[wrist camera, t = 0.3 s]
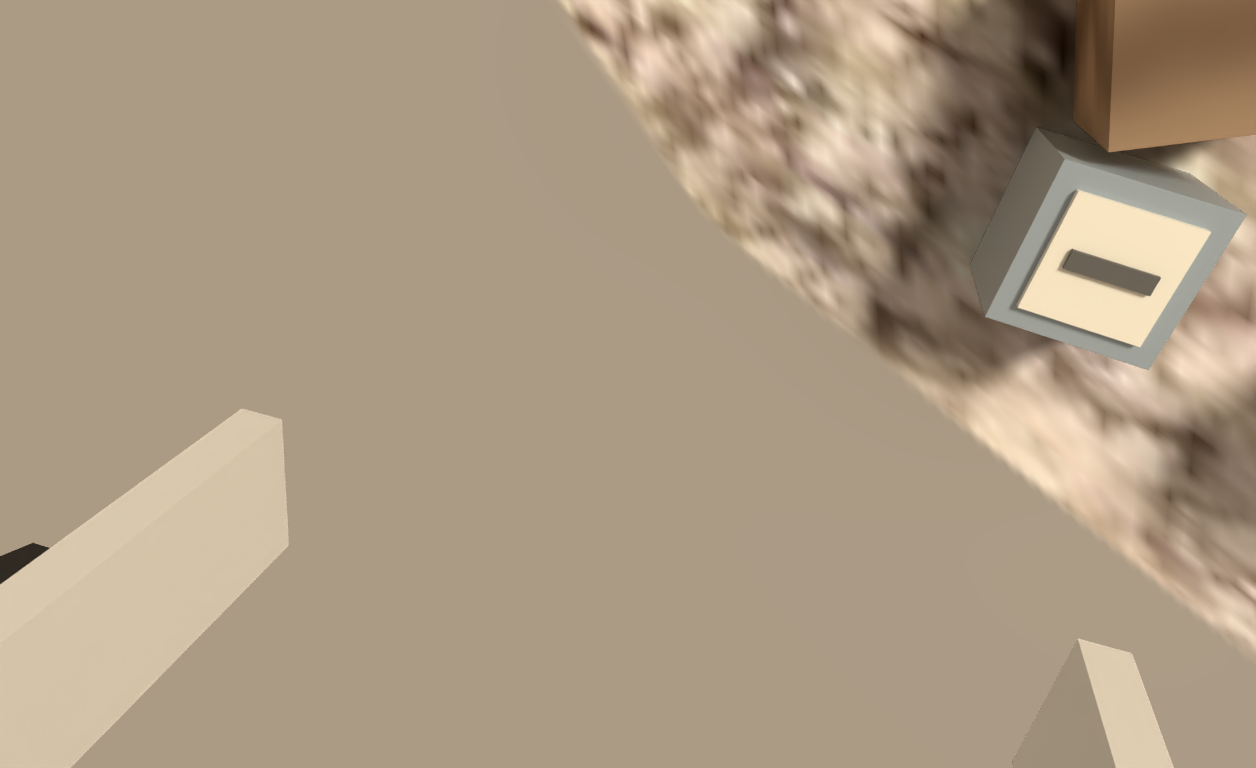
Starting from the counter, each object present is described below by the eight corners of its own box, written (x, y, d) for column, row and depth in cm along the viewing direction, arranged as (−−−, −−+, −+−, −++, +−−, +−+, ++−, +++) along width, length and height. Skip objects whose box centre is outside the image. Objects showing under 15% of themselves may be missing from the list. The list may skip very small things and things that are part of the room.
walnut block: (1077, -81, 31) (1118, -86, 26) (1311, -126, 29) (1407, -142, 24) (1072, 120, 34) (1108, 152, 29) (1285, 92, 32) (1365, 121, 26)
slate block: (1035, 126, 34) (1067, 162, 28) (1189, 173, 34) (1252, 218, 28) (969, 264, 37) (986, 321, 31) (1109, 309, 36) (1152, 376, 31)
